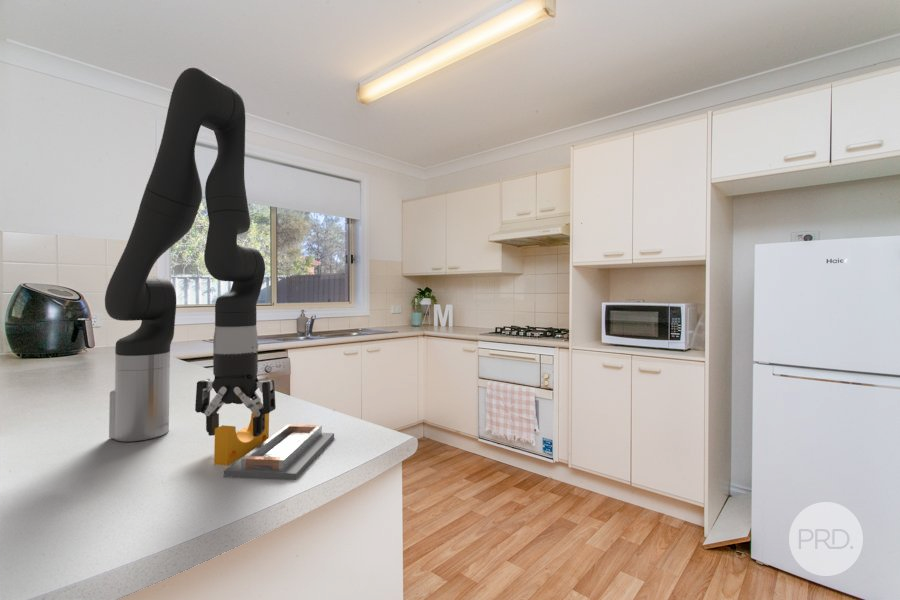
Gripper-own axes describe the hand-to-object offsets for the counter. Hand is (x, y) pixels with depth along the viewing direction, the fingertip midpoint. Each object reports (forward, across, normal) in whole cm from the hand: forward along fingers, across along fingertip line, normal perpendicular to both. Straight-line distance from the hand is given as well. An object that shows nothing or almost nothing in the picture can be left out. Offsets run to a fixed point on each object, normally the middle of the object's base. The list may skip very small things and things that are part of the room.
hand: (235, 434), depth 78 cm
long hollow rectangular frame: (+3, +10, -1) cm, 11 cm away
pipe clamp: (+4, +1, 0) cm, 4 cm away
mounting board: (+3, +10, -1) cm, 11 cm away
